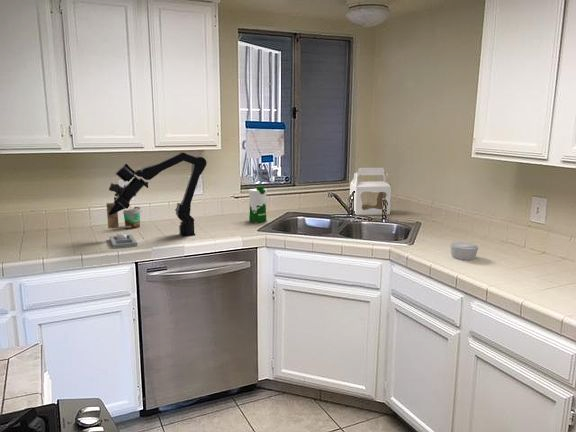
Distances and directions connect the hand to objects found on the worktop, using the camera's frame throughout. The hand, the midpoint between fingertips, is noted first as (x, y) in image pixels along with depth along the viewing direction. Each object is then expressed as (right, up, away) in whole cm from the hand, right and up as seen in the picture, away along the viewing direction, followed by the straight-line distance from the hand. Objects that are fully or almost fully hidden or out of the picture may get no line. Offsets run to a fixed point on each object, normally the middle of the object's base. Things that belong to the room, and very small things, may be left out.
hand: (109, 213), depth 226 cm
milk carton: (+66, -4, +49) cm, 82 cm away
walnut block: (+1, -6, +2) cm, 7 cm away
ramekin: (+156, -19, -21) cm, 159 cm away
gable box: (+133, 0, +77) cm, 154 cm away
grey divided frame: (+7, -14, -2) cm, 15 cm away
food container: (+3, -7, +31) cm, 32 cm away
